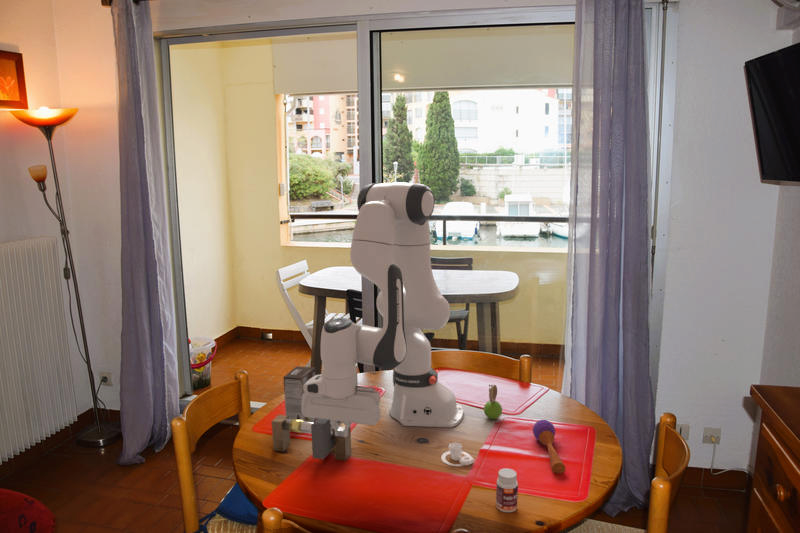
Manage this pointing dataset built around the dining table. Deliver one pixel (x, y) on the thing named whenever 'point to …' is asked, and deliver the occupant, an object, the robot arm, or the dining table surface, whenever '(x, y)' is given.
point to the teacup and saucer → (457, 455)
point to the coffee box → (296, 391)
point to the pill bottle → (507, 490)
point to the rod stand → (285, 425)
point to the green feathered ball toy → (492, 404)
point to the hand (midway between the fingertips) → (341, 435)
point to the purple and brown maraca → (548, 443)
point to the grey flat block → (322, 438)
